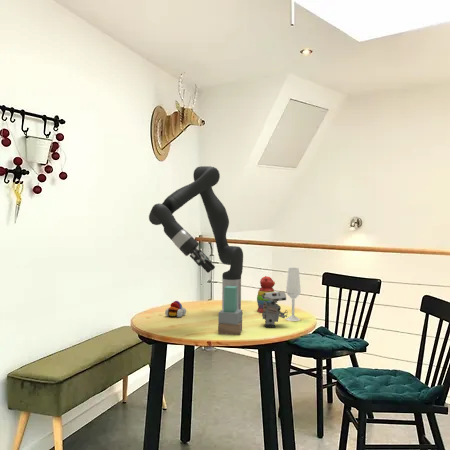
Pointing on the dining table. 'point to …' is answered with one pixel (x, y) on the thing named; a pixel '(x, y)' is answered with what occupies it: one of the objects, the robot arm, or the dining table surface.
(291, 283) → the champagne flute
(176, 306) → the rainbow petal toy
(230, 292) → the green block
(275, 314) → the figurine
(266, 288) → the stacking bear
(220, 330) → the walnut base block
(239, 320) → the gray top block
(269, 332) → the dining table surface
